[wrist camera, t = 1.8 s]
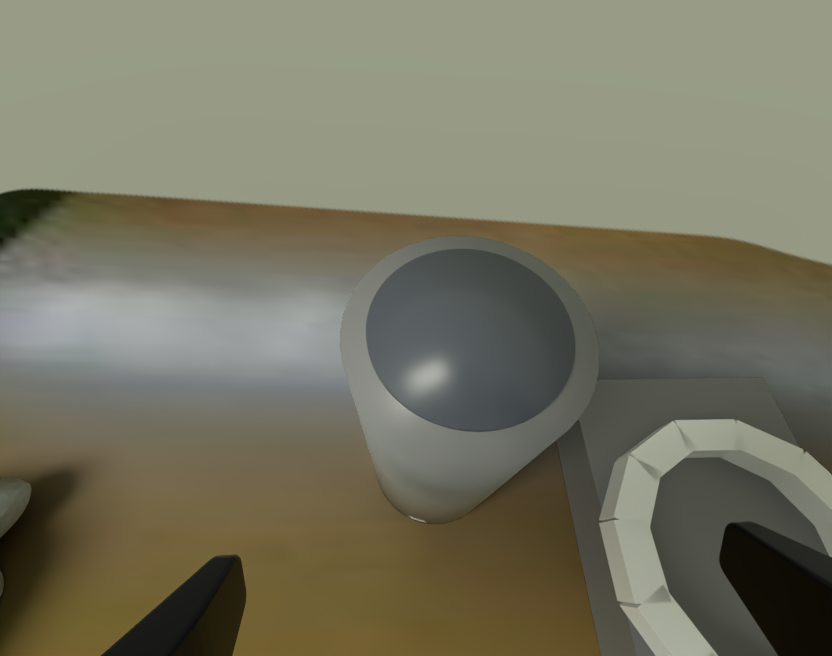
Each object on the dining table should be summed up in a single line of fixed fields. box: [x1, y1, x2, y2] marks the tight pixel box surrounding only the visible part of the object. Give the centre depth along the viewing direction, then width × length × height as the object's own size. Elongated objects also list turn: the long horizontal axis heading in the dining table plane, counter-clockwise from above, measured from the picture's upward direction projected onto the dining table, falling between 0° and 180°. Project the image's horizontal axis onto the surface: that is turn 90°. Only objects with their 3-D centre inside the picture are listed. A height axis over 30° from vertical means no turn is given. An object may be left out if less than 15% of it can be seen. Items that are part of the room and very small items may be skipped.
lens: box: [340, 236, 600, 524], centre depth 14 cm, size 6×6×12 cm
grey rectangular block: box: [556, 377, 832, 656], centre depth 15 cm, size 14×9×4 cm
